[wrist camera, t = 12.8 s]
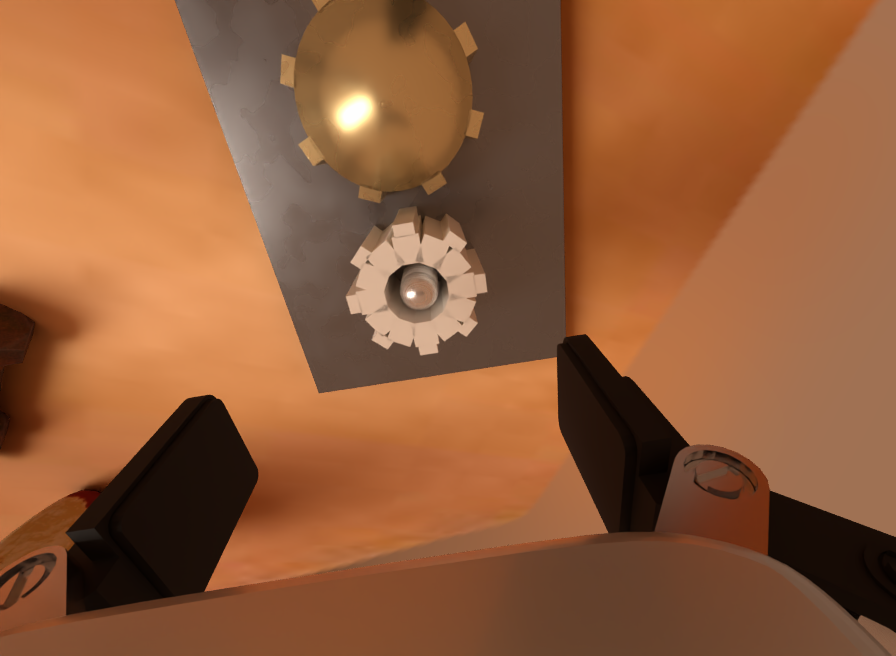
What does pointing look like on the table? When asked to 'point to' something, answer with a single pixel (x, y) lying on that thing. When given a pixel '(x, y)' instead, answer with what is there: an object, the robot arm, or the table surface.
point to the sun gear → (383, 92)
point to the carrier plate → (351, 218)
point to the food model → (46, 527)
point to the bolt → (12, 347)
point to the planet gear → (381, 287)
